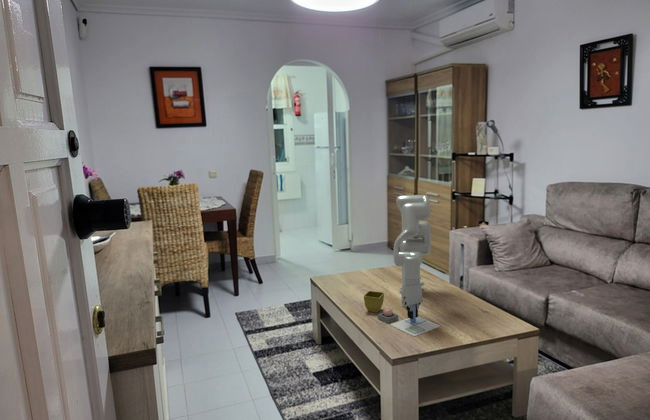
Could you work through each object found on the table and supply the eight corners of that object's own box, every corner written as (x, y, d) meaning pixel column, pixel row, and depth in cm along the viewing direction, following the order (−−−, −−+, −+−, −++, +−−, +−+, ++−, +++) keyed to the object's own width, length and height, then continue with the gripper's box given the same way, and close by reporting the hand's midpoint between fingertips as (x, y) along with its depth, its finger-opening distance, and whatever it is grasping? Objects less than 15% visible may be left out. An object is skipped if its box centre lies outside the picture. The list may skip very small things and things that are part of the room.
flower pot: (385, 308, 233) (384, 292, 231) (379, 314, 225) (379, 298, 223) (369, 306, 236) (368, 290, 235) (363, 312, 228) (363, 296, 227)
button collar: (388, 315, 223) (388, 310, 223) (398, 319, 218) (398, 314, 217) (378, 318, 220) (378, 314, 219) (387, 323, 214) (387, 318, 213)
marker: (412, 319, 215) (412, 300, 213) (417, 321, 212) (417, 301, 211) (408, 321, 213) (408, 301, 211) (412, 323, 211) (412, 303, 209)
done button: (388, 312, 221) (388, 307, 221) (394, 314, 218) (394, 309, 217) (381, 314, 219) (381, 309, 218) (387, 317, 215) (387, 312, 215)
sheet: (415, 316, 221) (415, 315, 221) (440, 326, 208) (440, 325, 207) (390, 325, 212) (390, 324, 211) (414, 336, 198) (414, 335, 198)
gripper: (418, 275, 217) (419, 310, 220) (394, 282, 208) (395, 319, 211) (429, 279, 211) (430, 315, 214) (405, 286, 202) (406, 324, 205)
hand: (412, 317), depth 212 cm, fingers closed on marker, 2 cm apart
